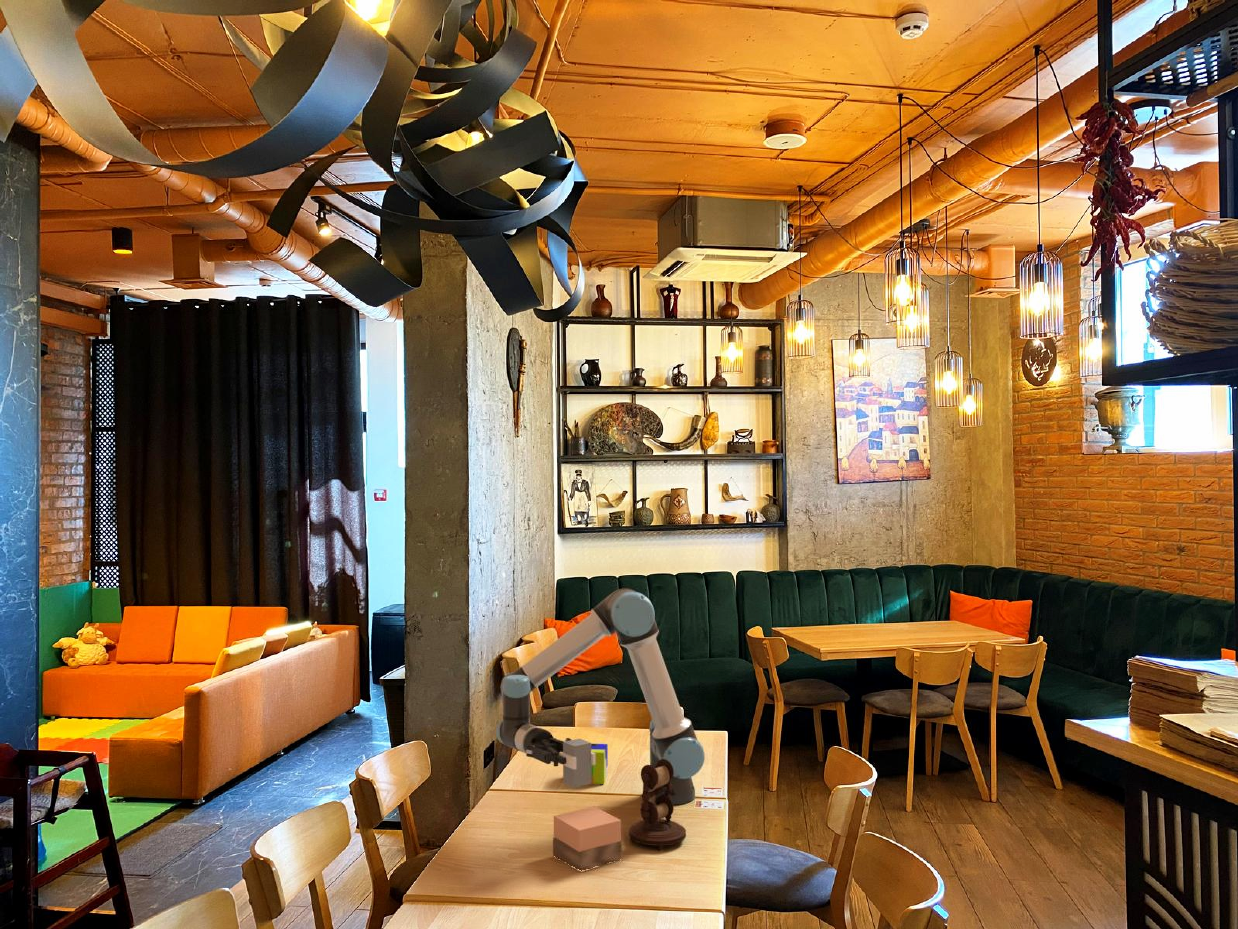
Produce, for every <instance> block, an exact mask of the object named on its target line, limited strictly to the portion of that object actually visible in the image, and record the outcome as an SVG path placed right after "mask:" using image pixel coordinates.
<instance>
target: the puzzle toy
mask: <svg viewBox="0 0 1238 929" xmlns="http://www.w3.org/2000/svg"><path fill="white" fill-rule="evenodd" d="M608 751H609V750H608V743H591V752H592V753H595V754H596V765H591V784H604V783H605V784H606V781H607V778H608V775H607V773H608V774H609V772H608V770H609V769H608V765H609V763H608V759H609V758H608ZM606 777H607V778H606ZM605 780H606V781H605ZM605 784H604V785H605Z"/></svg>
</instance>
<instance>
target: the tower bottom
mask: <svg viewBox="0 0 1238 929" xmlns="http://www.w3.org/2000/svg"><path fill="white" fill-rule="evenodd" d="M552 848H553V849H552V857H553V856H555V857H556V858H557V859H556V858H555V857H554V858H555V859H556V860H558V859H560V860H561V861H560V860H559V861H560V862H562V861H563V862H566V863H567V864H569V865H570V866H573V867H575V868H576V869H579V870H581V871H582V870H586V869H591V868H593V867H595V866H601V867H603V866H602V865H604V864H607V863H609V862H614V861H617V862H619V861H618V860H620V859H621V860H622V840H621V841H619V842H615V843H612V844H608V845H604V846H600V847H597V848H593V849H589V850H585V851H582V852H578V851H577V850H575V849H574V848H572V847H570V846H569V845H567V844H565V843H564V842H562V841H560V840H559V839H557V838H555V837H554V836H553V838H552ZM621 860H620V861H621ZM563 862H562V863H563ZM614 863H615V862H614ZM567 864H566V865H567ZM569 865H568V866H569ZM607 865H608V864H607ZM570 866H569V867H570ZM604 866H605V865H604ZM576 869H575V870H576ZM591 870H592V869H591Z"/></svg>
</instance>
